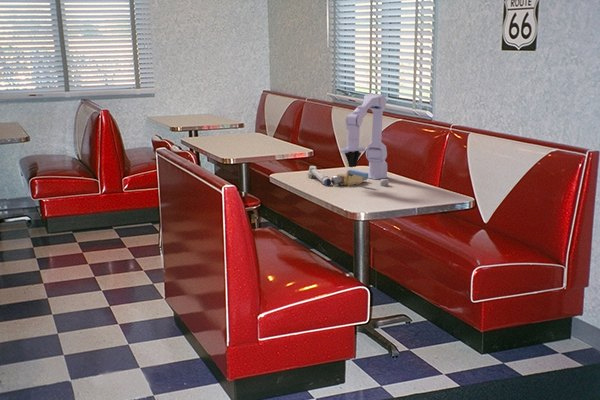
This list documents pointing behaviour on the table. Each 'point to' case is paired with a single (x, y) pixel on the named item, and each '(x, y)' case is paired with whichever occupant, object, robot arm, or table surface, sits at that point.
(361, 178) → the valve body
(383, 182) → the pvc end cap
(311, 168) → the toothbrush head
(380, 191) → the table surface
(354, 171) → the lever
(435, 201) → the table surface
